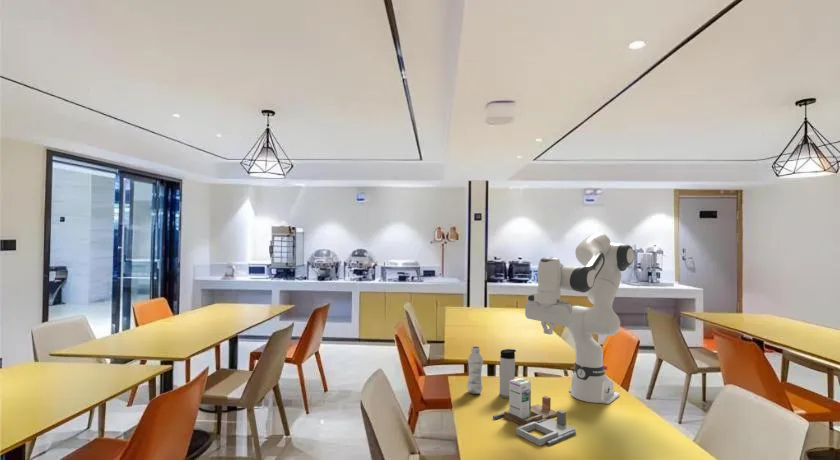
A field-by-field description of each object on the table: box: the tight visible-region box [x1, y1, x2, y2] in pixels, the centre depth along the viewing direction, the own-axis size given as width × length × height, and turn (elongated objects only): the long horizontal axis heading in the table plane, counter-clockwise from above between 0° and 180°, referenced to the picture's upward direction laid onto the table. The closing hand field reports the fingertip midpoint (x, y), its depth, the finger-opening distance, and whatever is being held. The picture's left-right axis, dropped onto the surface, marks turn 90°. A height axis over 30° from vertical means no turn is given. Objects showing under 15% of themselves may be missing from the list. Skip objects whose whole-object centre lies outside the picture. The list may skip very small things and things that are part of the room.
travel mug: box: [499, 348, 517, 399], centre depth 179 cm, size 6×7×20 cm
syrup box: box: [508, 377, 532, 420], centre depth 155 cm, size 6×6×14 cm
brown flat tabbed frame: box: [503, 395, 557, 426], centre depth 158 cm, size 20×10×5 cm, turn 126°
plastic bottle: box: [466, 345, 484, 395], centre depth 181 cm, size 6×7×20 cm
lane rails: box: [492, 412, 577, 447], centre depth 149 cm, size 15×25×1 cm, turn 36°
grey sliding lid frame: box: [515, 409, 576, 447], centre depth 144 cm, size 20×10×5 cm, turn 126°
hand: (548, 333), depth 161 cm, fingers closed
